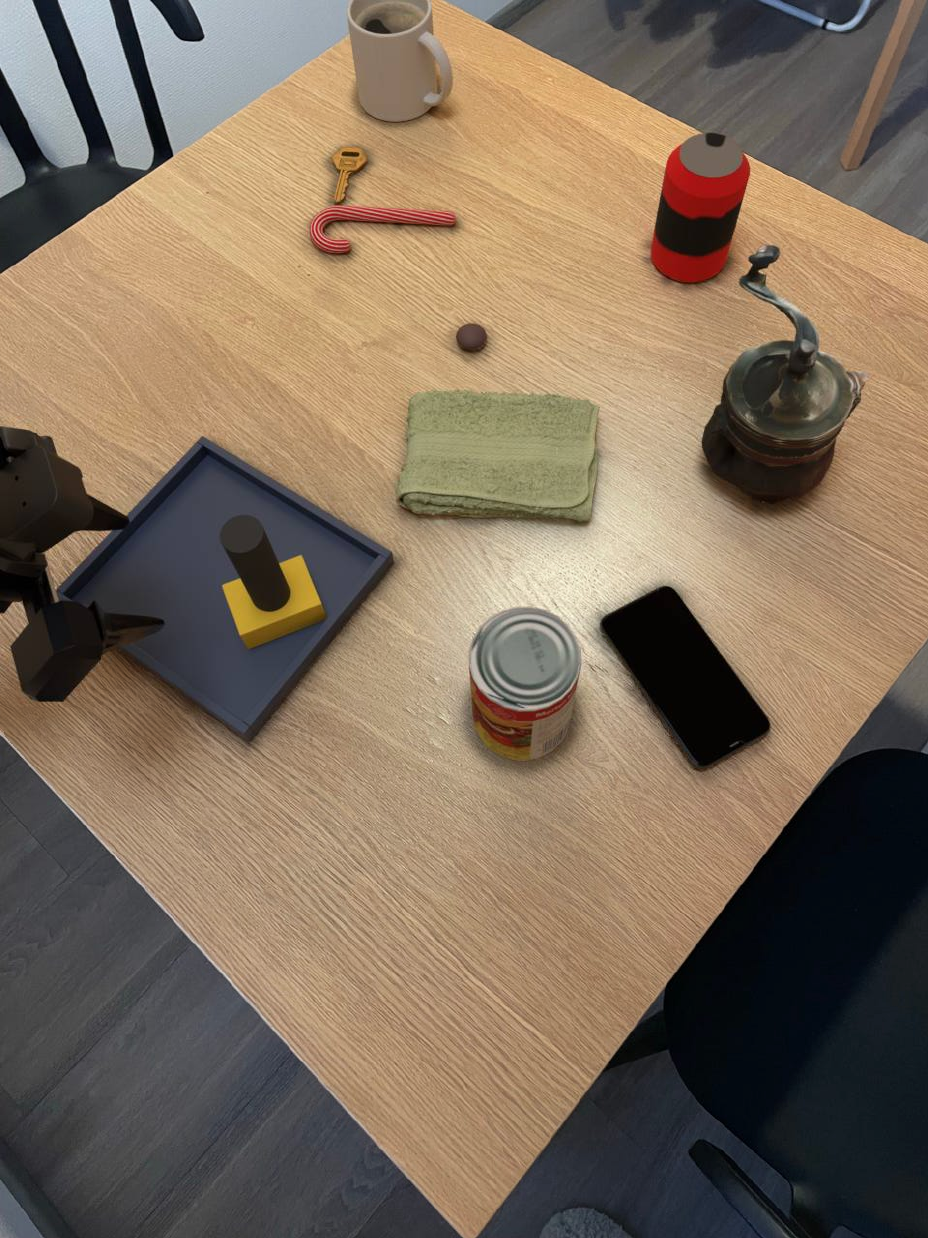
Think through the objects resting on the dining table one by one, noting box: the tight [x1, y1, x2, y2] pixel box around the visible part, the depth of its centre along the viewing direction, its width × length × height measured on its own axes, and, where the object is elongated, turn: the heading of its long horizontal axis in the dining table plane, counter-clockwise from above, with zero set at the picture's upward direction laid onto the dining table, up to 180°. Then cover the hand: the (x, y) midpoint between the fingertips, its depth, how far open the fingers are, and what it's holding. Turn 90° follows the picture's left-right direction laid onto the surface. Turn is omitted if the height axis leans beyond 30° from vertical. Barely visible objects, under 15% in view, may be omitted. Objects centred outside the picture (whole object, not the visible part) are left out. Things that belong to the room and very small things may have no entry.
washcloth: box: [395, 389, 601, 523], centre depth 87 cm, size 13×18×3 cm
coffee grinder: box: [701, 244, 868, 506], centre depth 80 cm, size 13×15×18 cm
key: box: [331, 146, 368, 205], centre depth 104 cm, size 4×8×1 cm, turn 173°
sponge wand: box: [220, 515, 327, 649], centre depth 76 cm, size 7×5×13 cm
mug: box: [346, 0, 454, 123], centre depth 105 cm, size 11×10×10 cm
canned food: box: [468, 606, 582, 762], centre depth 73 cm, size 8×8×12 cm
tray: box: [56, 435, 395, 743], centre depth 83 cm, size 20×22×2 cm
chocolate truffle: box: [455, 322, 488, 351], centre depth 94 cm, size 3×3×2 cm
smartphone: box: [599, 585, 772, 771], centre depth 79 cm, size 7×1×15 cm
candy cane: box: [308, 204, 457, 254], centre depth 100 cm, size 6×15×2 cm, turn 84°
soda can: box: [650, 132, 751, 283], centre depth 93 cm, size 8×8×12 cm
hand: (143, 573), depth 70 cm, fingers open, 9 cm apart
